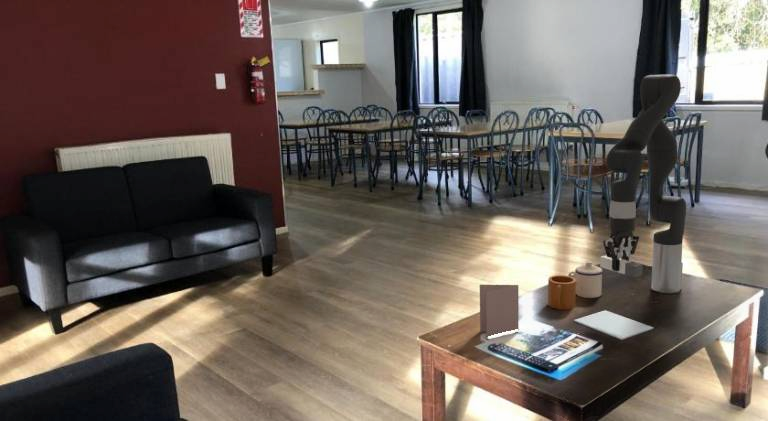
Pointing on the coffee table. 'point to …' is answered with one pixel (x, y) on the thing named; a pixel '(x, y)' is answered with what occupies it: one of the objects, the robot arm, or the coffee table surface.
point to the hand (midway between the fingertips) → (620, 269)
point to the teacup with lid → (588, 280)
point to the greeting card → (498, 308)
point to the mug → (561, 292)
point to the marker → (623, 266)
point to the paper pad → (613, 324)
